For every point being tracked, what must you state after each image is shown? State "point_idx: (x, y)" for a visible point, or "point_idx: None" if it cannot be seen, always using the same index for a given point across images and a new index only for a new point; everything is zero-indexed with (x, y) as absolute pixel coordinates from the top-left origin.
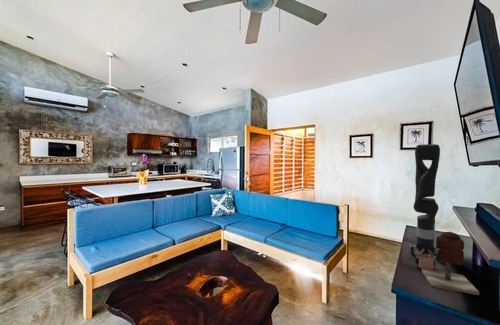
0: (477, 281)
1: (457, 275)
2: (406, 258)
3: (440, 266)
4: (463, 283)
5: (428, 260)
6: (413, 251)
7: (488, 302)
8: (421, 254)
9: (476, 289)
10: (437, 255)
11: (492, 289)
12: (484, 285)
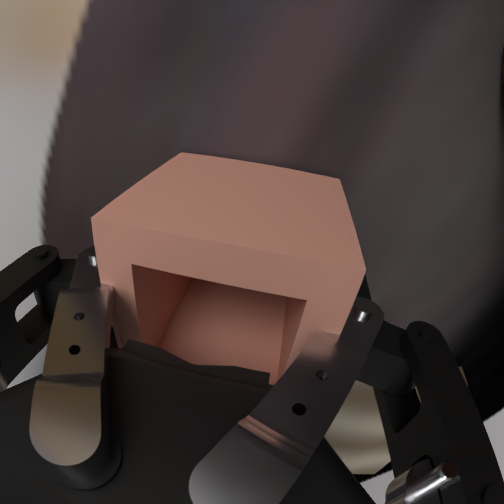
0: (501, 378)
1: (419, 399)
2: (105, 55)
3: (452, 204)
4: (365, 450)
5: None
6: (18, 365)
7: (364, 475)
8: (179, 261)
9: (381, 467)
10: (389, 443)
11: (485, 418)
12: (490, 401)
